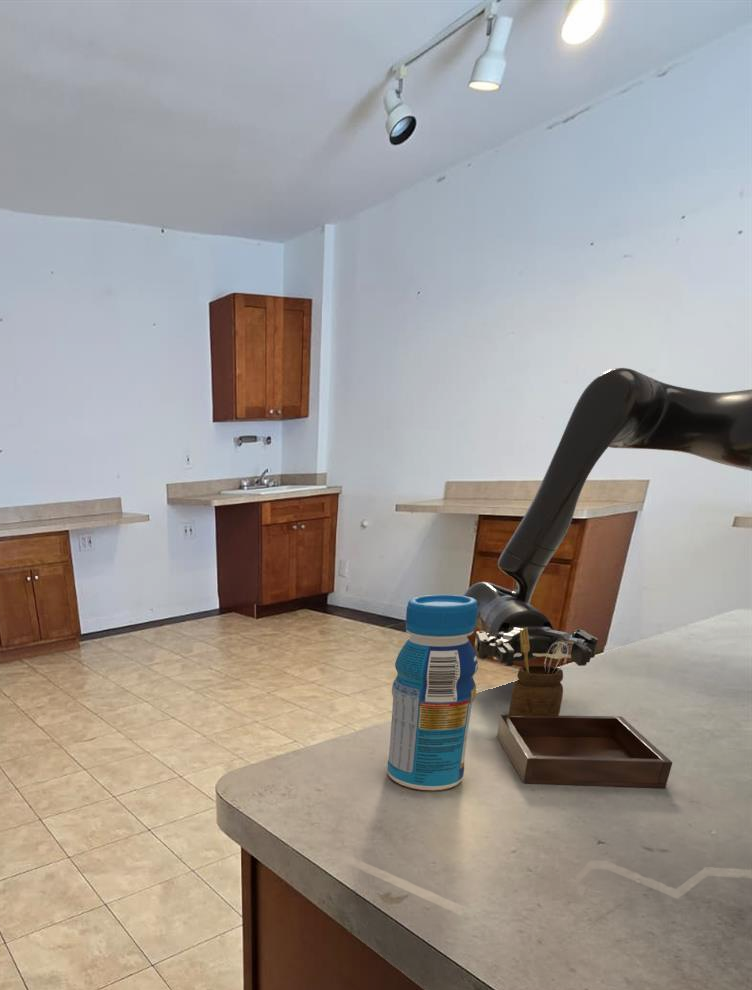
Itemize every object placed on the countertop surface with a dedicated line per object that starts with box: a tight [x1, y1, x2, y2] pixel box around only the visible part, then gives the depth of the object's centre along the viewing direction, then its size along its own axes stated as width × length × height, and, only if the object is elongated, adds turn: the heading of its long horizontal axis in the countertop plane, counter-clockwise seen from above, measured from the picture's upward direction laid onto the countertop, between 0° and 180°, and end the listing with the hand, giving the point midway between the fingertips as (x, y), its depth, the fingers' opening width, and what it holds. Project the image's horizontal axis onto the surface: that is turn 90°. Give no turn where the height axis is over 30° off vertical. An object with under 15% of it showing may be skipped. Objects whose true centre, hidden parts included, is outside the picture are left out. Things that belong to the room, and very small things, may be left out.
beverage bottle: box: [386, 594, 479, 791], centre depth 69 cm, size 8×8×20 cm
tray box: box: [496, 714, 673, 789], centre depth 74 cm, size 14×14×3 cm
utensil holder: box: [508, 627, 570, 716], centre depth 84 cm, size 6×6×12 cm
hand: (547, 658), depth 81 cm, fingers open, 8 cm apart
